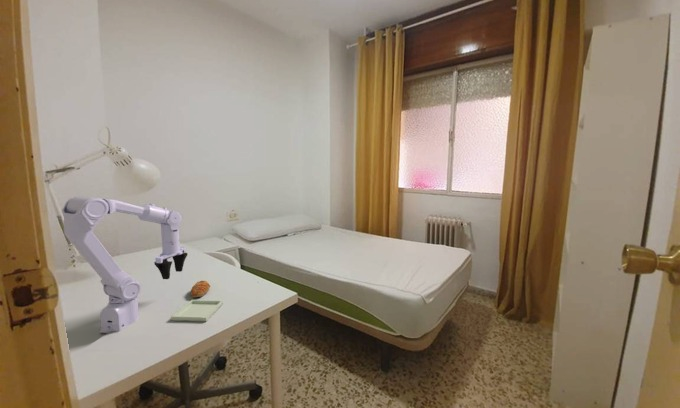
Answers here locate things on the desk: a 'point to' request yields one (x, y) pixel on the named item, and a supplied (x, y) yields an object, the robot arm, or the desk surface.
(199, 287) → the pastry
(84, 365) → the desk surface
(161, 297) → the desk surface
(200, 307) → the tray
